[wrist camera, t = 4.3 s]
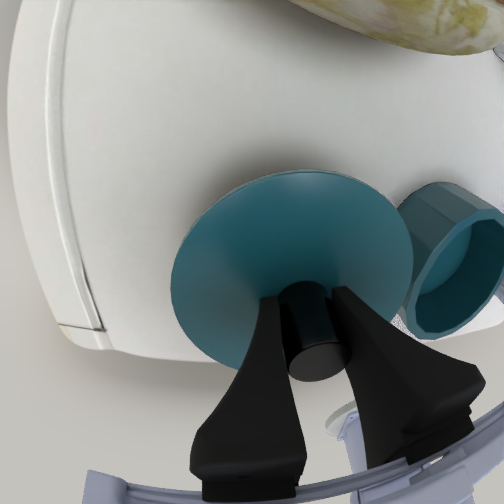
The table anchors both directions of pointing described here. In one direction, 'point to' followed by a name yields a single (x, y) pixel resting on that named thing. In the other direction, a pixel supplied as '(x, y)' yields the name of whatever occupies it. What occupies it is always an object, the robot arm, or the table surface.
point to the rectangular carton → (500, 50)
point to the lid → (290, 266)
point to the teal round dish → (450, 258)
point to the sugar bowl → (420, 22)
